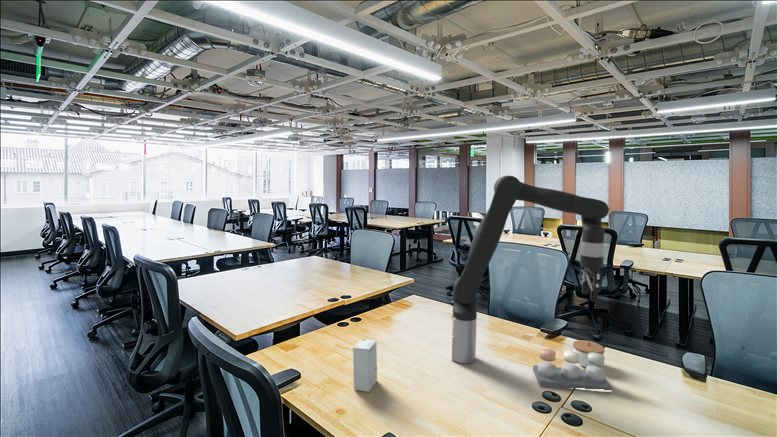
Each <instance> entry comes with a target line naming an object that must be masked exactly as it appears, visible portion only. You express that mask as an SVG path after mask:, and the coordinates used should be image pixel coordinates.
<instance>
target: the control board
mask: <svg viewBox="0 0 777 437" xmlns="http://www.w3.org/2000/svg"><path fill="white" fill-rule="evenodd" d="M532 365H533V364H532ZM532 371H533V373H534V376H535V378H536V380H537V383H538V386H539V387H542V386H543V388H544V387H545V388H552V387H556V388H555V389H563V388H573V389H575V388H585V389H604V390H612V391H613V386H612V385H611V384H610V382H609V381H608V380H607V379H606V370H605V369H603V368H601V366H598V367H596V366H587V367H586V368H585V369H581V368H580V367H579V366H578V365H577V364H573V363H562V364H561V367H558V366H556V365H555V364H554V363H552V362H549V361H539V362H537V365H533V366H532ZM558 387H559V388H558ZM573 389H572V390H573Z"/></svg>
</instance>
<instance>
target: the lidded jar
mask: <svg viewBox="0 0 777 437" xmlns="http://www.w3.org/2000/svg"><path fill="white" fill-rule="evenodd" d="M572 351H574V352H577V353H579V354H580V360H579V363H578V365H579V364H580V365H581V366H580V365H579V366H580V367H582V366H584V367H587V366H596V367H599V366H597V365H593V364H591V363H589V362H588V353H591V352H594V353H599V354H601V355H603V356H604V357H605V347H604V346H602V345H601V344H599V343H597V342H594V341H592V340H591V341H590V340H584V339H581V340H580V339H579V340H574V341H573V343H572ZM584 367H583V368H584Z"/></svg>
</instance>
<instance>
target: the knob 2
mask: <svg viewBox="0 0 777 437" xmlns="http://www.w3.org/2000/svg"><path fill="white" fill-rule="evenodd" d="M605 358H606V357H605V355H604V356H603V355H601V354H599V353H594V352H591V353H588V362H589V363H591V364H593V365H597V366H598V367H602V366H604V365H605Z"/></svg>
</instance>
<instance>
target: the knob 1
mask: <svg viewBox="0 0 777 437" xmlns="http://www.w3.org/2000/svg"><path fill="white" fill-rule="evenodd" d="M539 358H540V359H541V360H542V361H544V362H549V363H552V362H554V361H556V352H555V351H554V350H553V349H551V348H541V349H539Z"/></svg>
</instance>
